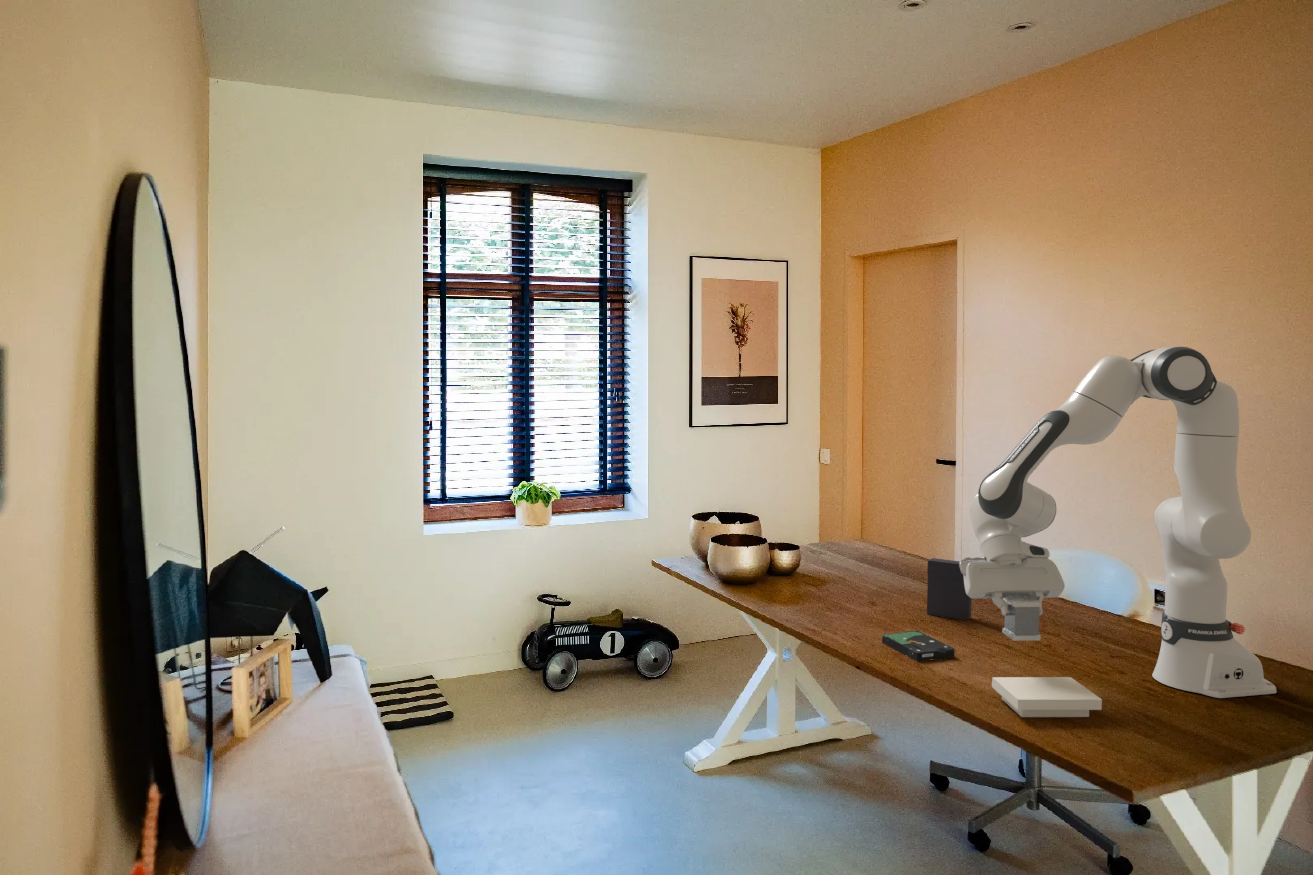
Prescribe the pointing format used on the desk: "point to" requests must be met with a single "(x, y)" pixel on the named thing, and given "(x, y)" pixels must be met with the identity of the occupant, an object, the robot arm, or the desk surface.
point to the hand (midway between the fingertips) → (1023, 614)
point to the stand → (1046, 696)
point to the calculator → (947, 590)
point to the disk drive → (918, 645)
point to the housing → (1022, 618)
